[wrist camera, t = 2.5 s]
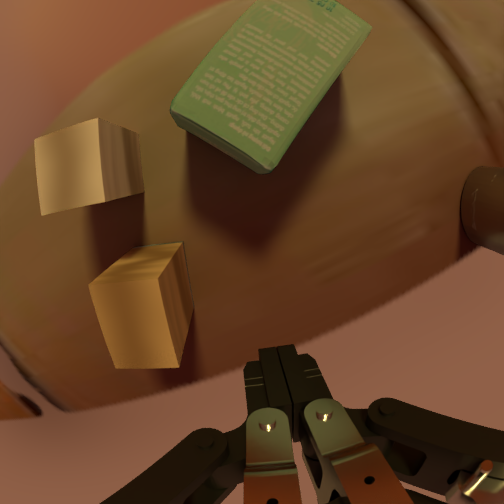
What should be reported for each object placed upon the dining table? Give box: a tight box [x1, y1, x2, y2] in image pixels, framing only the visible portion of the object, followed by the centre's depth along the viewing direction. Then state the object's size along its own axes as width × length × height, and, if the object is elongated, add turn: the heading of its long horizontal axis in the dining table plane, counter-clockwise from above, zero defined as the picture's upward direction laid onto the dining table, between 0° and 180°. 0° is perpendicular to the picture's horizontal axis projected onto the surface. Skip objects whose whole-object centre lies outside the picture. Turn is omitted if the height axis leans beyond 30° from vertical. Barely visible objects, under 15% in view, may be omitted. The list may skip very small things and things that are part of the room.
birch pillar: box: [35, 118, 144, 215], centre depth 18 cm, size 5×5×8 cm
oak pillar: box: [88, 241, 194, 369], centre depth 20 cm, size 4×6×9 cm
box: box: [170, 0, 372, 174], centre depth 17 cm, size 7×14×8 cm, turn 147°
